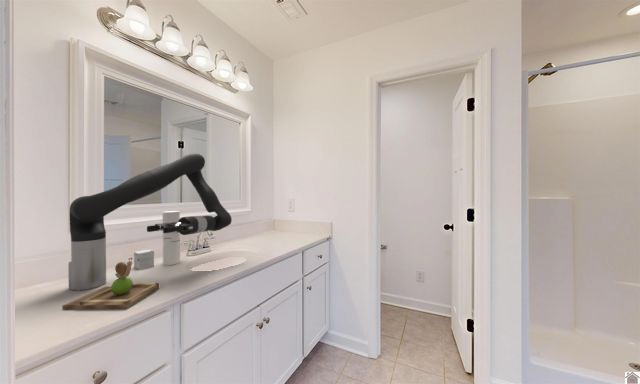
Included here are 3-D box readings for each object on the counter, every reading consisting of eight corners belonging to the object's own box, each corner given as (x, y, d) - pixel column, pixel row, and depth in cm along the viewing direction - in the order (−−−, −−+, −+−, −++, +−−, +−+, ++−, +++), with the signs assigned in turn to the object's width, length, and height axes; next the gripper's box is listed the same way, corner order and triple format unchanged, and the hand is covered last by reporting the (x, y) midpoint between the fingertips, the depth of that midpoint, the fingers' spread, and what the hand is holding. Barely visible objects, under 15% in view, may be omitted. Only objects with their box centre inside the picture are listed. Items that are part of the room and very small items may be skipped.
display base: (62, 309, 70) (62, 302, 70) (105, 289, 84) (105, 283, 84) (127, 308, 70) (127, 301, 70) (159, 289, 84) (159, 282, 84)
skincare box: (133, 267, 109) (133, 251, 109) (149, 264, 114) (148, 248, 114) (139, 270, 105) (138, 253, 105) (154, 266, 110) (154, 250, 110)
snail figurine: (123, 298, 73) (122, 260, 73) (106, 297, 75) (106, 259, 75) (139, 291, 79) (139, 255, 79) (123, 290, 80) (123, 254, 80)
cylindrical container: (165, 261, 118) (165, 211, 118) (181, 260, 120) (181, 210, 120) (160, 265, 111) (160, 212, 111) (178, 264, 113) (177, 212, 113)
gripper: (180, 215, 105) (142, 218, 89) (205, 216, 100) (169, 220, 84) (180, 232, 104) (142, 238, 89) (205, 234, 100) (169, 241, 84)
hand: (155, 229), depth 87 cm, fingers open, 8 cm apart
